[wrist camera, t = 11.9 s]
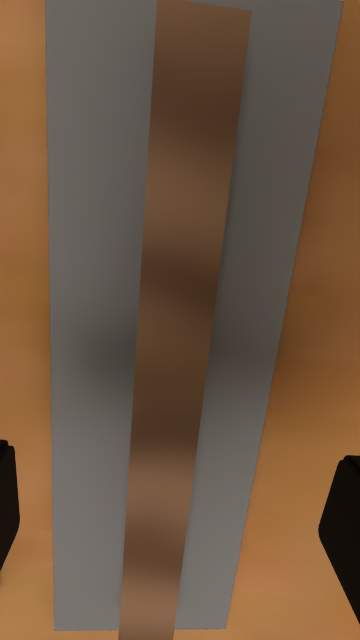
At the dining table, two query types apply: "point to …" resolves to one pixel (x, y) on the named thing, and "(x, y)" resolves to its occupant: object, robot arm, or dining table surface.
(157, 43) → the walnut rail
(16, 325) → the dining table surface
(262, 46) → the grey mat
